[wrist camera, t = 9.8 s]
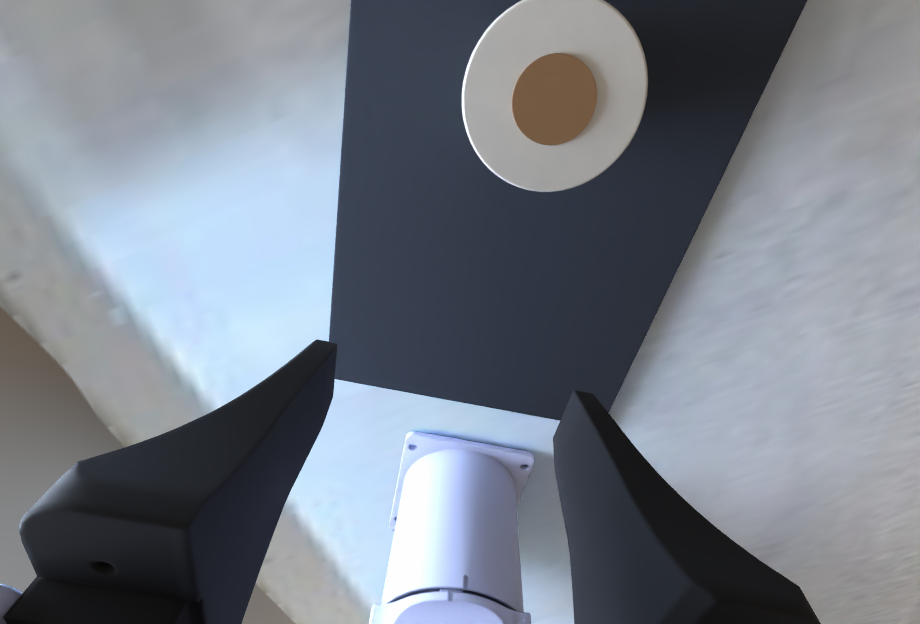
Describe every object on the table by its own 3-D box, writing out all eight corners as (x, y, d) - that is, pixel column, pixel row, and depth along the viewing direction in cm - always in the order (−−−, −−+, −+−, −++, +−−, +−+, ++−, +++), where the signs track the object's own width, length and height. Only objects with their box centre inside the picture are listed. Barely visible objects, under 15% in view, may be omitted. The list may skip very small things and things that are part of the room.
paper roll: (610, 208, 12) (682, 14, 10) (446, 174, 12) (483, -33, 10) (564, 149, 19) (601, 27, 17) (460, 126, 19) (484, -1, 17)
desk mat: (599, 423, 27) (601, 428, 27) (328, 373, 26) (326, 377, 26) (816, -31, 16) (823, -32, 16) (363, -144, 15) (360, -148, 15)
